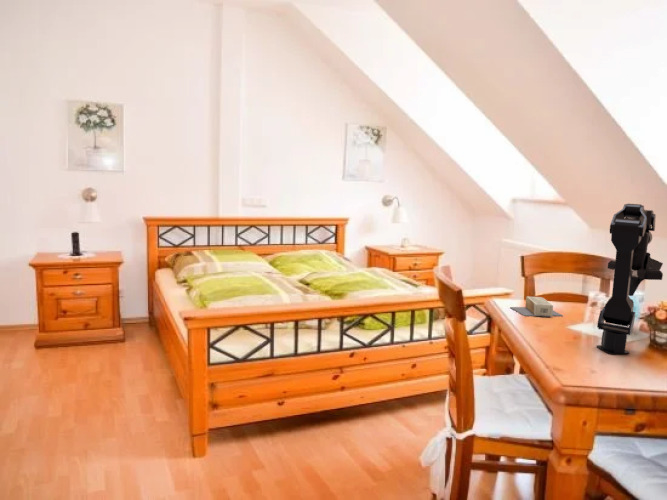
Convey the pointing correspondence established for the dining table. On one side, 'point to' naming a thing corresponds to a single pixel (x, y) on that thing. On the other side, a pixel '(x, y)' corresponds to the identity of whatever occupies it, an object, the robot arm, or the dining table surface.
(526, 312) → the felt mat
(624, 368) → the dining table surface
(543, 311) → the skincare box
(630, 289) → the robot arm
